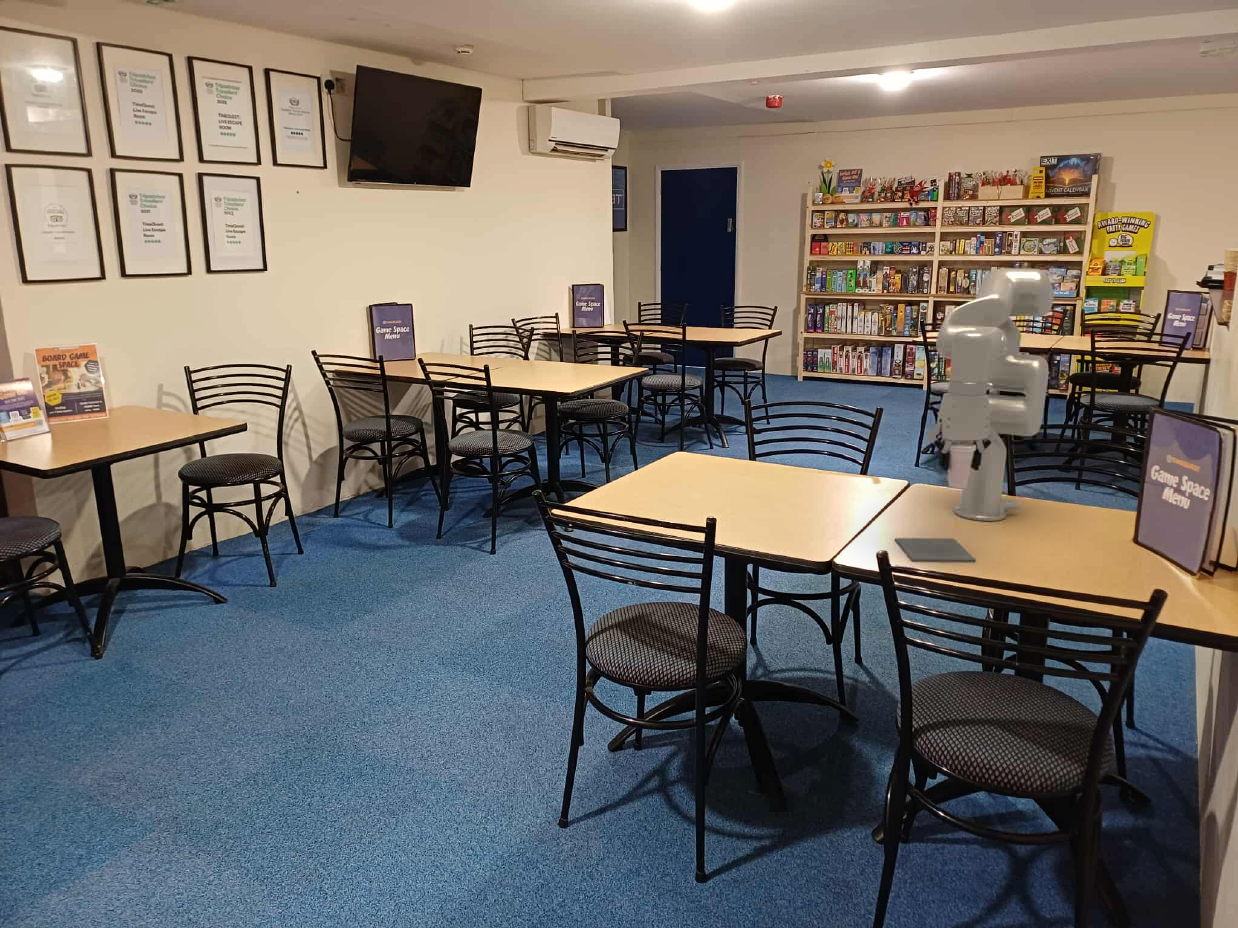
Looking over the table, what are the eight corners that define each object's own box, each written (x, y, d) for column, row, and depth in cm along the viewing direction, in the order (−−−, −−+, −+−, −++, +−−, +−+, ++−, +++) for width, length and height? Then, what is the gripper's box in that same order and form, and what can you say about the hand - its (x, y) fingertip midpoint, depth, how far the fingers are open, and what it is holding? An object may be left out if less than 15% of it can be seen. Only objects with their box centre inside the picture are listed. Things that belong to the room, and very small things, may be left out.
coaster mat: (953, 540, 206) (953, 538, 206) (975, 562, 193) (975, 559, 193) (894, 540, 207) (894, 538, 207) (912, 561, 193) (912, 559, 193)
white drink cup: (936, 482, 194) (941, 422, 191) (964, 481, 195) (969, 420, 191) (950, 491, 188) (955, 428, 184) (978, 489, 189) (984, 427, 185)
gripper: (999, 385, 189) (991, 464, 194) (921, 385, 189) (914, 464, 194) (1014, 391, 182) (1005, 473, 187) (933, 392, 182) (925, 474, 187)
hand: (959, 468), depth 191 cm, fingers closed on white drink cup, 6 cm apart
